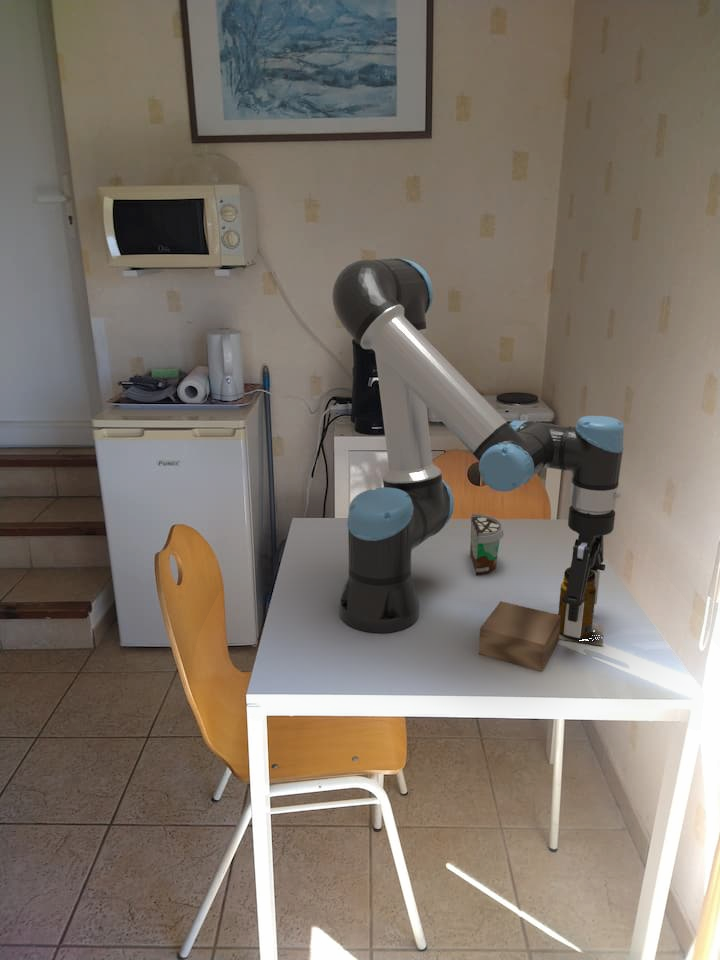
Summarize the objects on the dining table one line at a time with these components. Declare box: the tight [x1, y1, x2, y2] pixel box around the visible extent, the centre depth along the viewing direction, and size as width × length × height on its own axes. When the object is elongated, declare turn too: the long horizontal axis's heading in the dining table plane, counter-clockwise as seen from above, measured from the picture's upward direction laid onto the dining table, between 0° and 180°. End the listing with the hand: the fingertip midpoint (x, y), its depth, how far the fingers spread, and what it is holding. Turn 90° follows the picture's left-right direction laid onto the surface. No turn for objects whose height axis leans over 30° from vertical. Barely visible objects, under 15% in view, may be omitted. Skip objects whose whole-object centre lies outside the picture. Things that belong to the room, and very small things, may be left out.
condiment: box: [557, 566, 605, 647], centre depth 127 cm, size 7×8×12 cm
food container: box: [469, 513, 504, 576], centre depth 155 cm, size 12×6×10 cm, turn 179°
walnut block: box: [478, 600, 561, 672], centre depth 124 cm, size 11×11×5 cm
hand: (580, 618), depth 128 cm, fingers open, 13 cm apart
